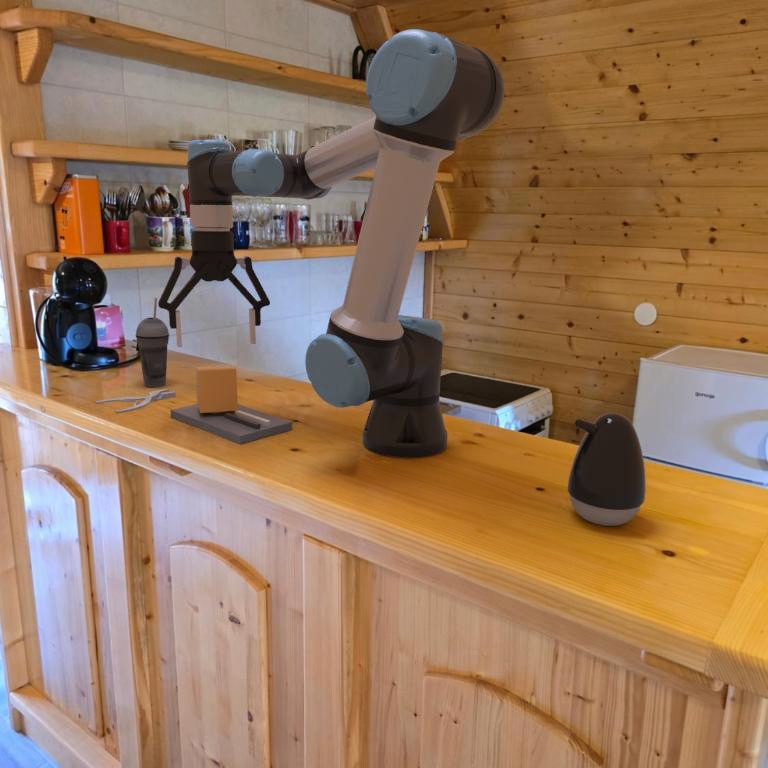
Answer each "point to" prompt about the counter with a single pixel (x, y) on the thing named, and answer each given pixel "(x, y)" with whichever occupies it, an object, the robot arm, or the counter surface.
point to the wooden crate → (216, 389)
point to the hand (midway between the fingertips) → (216, 344)
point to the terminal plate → (233, 423)
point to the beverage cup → (153, 349)
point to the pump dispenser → (608, 471)
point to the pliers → (147, 400)
